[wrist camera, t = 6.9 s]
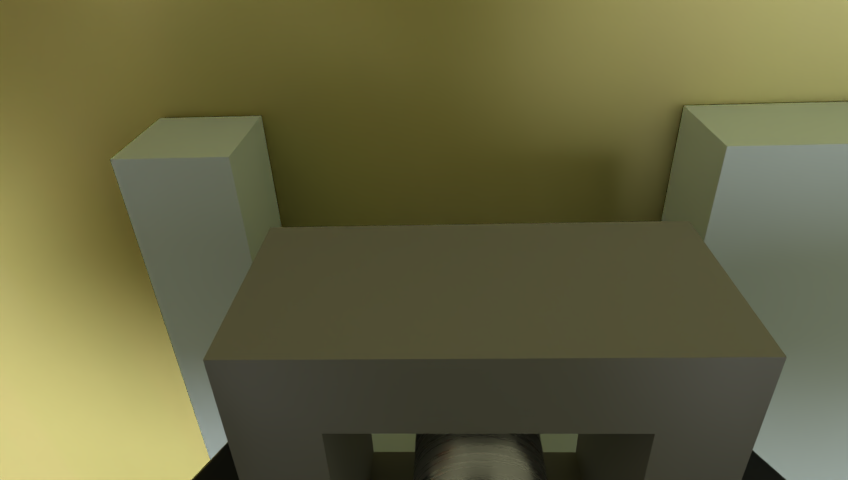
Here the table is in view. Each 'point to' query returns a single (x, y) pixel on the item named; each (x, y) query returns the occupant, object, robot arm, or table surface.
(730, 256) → the grey walled base plate
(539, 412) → the square hollow frame
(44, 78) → the table surface
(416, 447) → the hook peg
